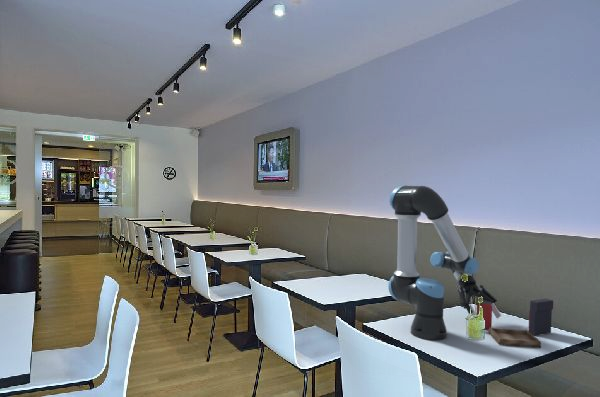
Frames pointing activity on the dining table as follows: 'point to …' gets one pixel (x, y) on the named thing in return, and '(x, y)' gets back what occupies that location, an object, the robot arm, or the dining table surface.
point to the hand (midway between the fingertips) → (487, 318)
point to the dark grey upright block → (540, 316)
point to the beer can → (486, 313)
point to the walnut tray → (514, 337)
